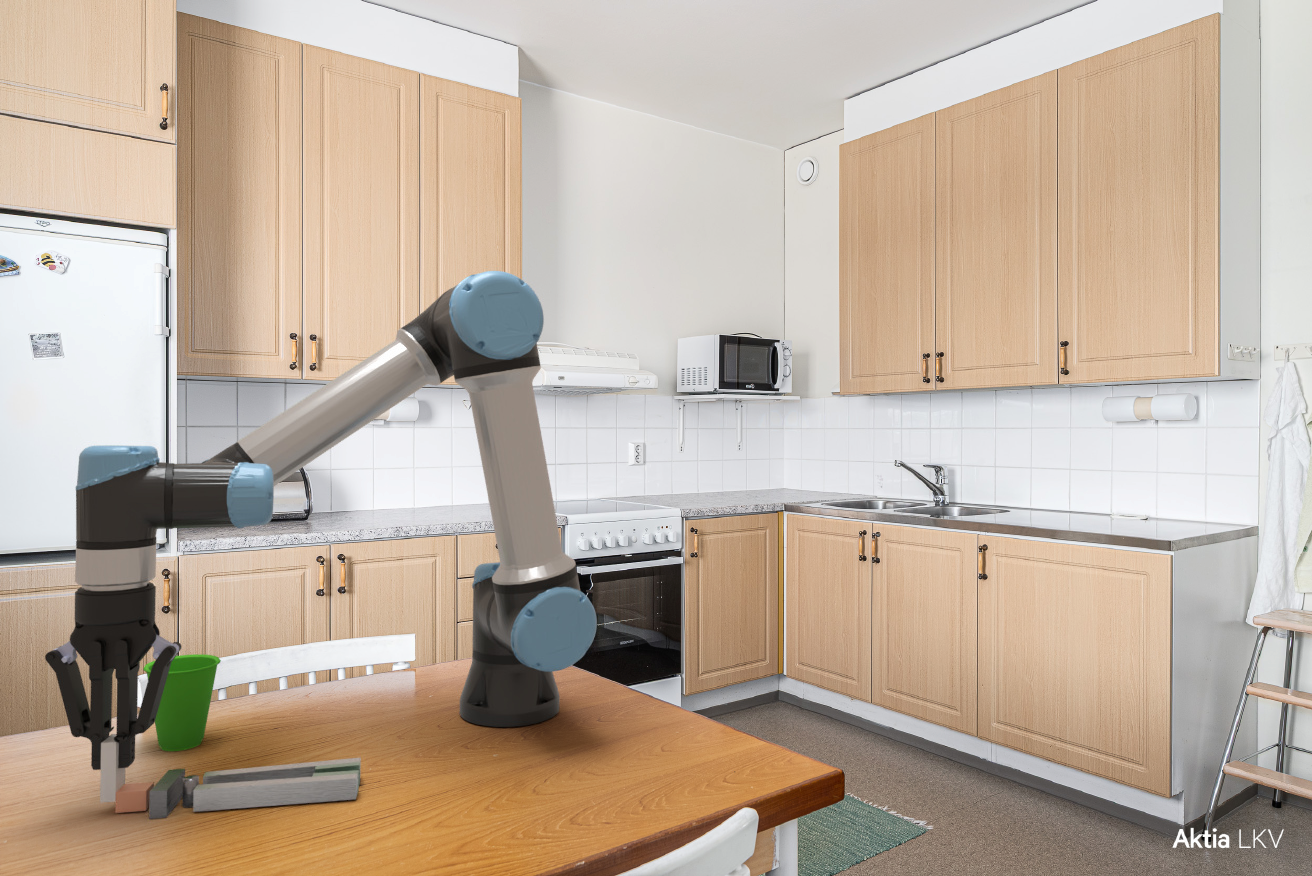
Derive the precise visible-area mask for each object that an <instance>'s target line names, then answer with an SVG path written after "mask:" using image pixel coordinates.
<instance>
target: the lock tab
mask: <svg viewBox="0 0 1312 876" xmlns="http://www.w3.org/2000/svg"><path fill="white" fill-rule="evenodd" d="M154 786H155V781H147V782H146V781H145V782H132V783H125V784H124V785H123V786H122V787H121V788H120V789H119V790H118V791H117V792H116V801H115V810H114V811H115V814H119V813H131V812H133V813H134V812H143V811H145V812H146V811H147V810H149V802H150V790H151V789H152V788H153V787H154Z"/></svg>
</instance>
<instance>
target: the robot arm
mask: <svg viewBox="0 0 1312 876" xmlns="http://www.w3.org/2000/svg"><path fill="white" fill-rule="evenodd" d="M544 320H545V319H544V310H543V305H542V304H541V301H540V298H539V296H538V295H537V294H536V292H535V290H533V288H532V287H531V286H530V285H529V284H528V283H527V282H525V281H524V280H523V279H522V278H520V277H518V276H517V275H514V274H513V273H510V272H507V271H501V270H489V271H488V270H487V271H483V272H479V273H475V274H474V273H473V274H471V275H469V276H467V277H465V278H464V279H462V280H461V281H460V282H459V283H458V284H456V285H455V286H454V287H452V288H449V289H447V290H446V291H445V292H443V293H442V294H441V295H440V296H438V298H437V299H435V301H433V303H431V304H430V305H429V306H428V307H427V308H426V309H425V310H423V311H422V313H420V314H419V315H417V316H416V317H415V318H414V319H412V320H411V321H410V322H408V323H407V324H405V325H404V326H402V327H400V328H398V330H397V331H396V336H395V340H394V341H392V342H390V343H389V344H387V345H385V346H384V347H382V348H381V349H380V350H378V351H377V352H375V353H373V354H372V355H370V356H368V357H367V358H365V359H364V360H363V361H360V362H359V363H358V364H356V365H355V366H353V367H351V368H349V370H347V371H345V372H344V373H342V374H340V375H339V376H337V377H336V378H334V379H332V380H331V381H330V382H328V383H327V384H325V385H323V386H322V387H319V388H318V389H317V390H316V391H314V392H313V393H311V394H309V395H307V396H306V397H305V398H303V399H302V400H300V401H298V402H297V403H295V404H294V405H292V406H291V407H289V408H287V409H286V410H284V411H283V412H281V413H279V414H278V415H276V416H275V417H273V418H272V419H270V420H269V421H267V422H265V423H264V424H262V425H261V426H259V427H258V428H256V429H254V430H253V431H251V432H250V433H248V434H246V435H244V437H242V438H241V439H239V440H237V441H236V442H235V443H233V444H231V445H230V446H228V447H226V448H225V449H223V450H222V451H220V452H218V453H217V454H215V455H213V456H212V457H210V458H209V459H206V460H204V461H202V462H201V463H200V462H199V463H198V462H197V463H173V462H171V463H170V462H160V458H159V454H158V449H157V448H156V447H154V446H151V445H108V444H107V445H90V446H88V447H85V448H83V450H82V451H81V452H80V453H79V456H78V466H77V479H76V485H75V491H76V492H75V534H76V535H75V538H76V539H75V540H76V541H75V547H76V548H75V565H74V566H75V568H74V569H75V570H74V582H75V583H76V584H77V585H78V586H81V587H79V588H77V590H76V591H75V592H74V629H73V631H72V632H71V634H70V636H69V641H67V642H66V643H64V644H62V645H61V646H58V647H55V648H54V649H52V650H50V651H47V653H45V655H44V660H45V661H46V662H47V664H48V665H49V666H50V668H51V669H52V670H53V671H54V672H55V676H56V679H57V684H58V688H59V692H60V695H61V698H62V704H63V707H64V711H65V715H66V717H67V722H68V725H69V731H70V734H71V736H73V737H74V738H80V737H81V738H85V739H88V740H89V741H90V743H91V760H90V761H91V768H92V770H93V771H96V770H97V771H100V778H99V779H100V781H99V782H100V784H99V785H100V786H99V788H100V789H99V791H100V792H99V798H100V799H99V802H100V803H111V802H112V803H113V802H116V792H117V791H118V790H119V789H120V788H121V787H122V786H123V785H124V784H126V769H129V767H130V766H131V765H132V764H134V761H135V758H136V736H137V735H139V734H144V733H146V732H147V731H148V730H149V729H150V728H151V727H152V726H153V725H154V724H155V719H156V715H157V712H158V708H159V705H160V701H161V697H162V694H163V690H164V687H165V683H166V680H167V676H168V673H169V669H170V666H171V662H172V661H173V659H174V658H175V657H176V656H178V654H179V652H181V650H182V644H181V643H180V642H179V641H174V642H171V641H169V640H167V639H165V638H164V637H162V636H160V635H161V634H160V633H161V631H160V629H159V627H158V626H157V624H156V623H157V622H156V601H157V600H156V597H157V596H156V590H157V589H156V588H157V587H156V586H155V585H154V583H153V582H150V581H153V580H154V579H155V578H156V572H157V571H156V569H157V566H156V565H157V532H158V530H164V529H165V530H173V529H204V528H205V529H206V528H209V529H210V528H236V529H243V528H246V527H257V526H265V525H268V524H269V523H270V522H271V521H272V519H273V513H274V493H275V490H274V489H275V488H274V487H275V486H277V485H278V484H280V483H282V481H284V480H286V479H287V478H289V477H290V476H292V475H293V474H295V473H297V472H298V471H299V470H301V469H302V468H304V467H305V466H307V465H308V464H309V463H311V462H313V461H315V460H316V459H318V457H320V456H322V455H323V454H324V453H326V452H328V451H330V450H331V449H332V448H334V447H335V446H337V445H338V444H339V443H341V442H343V441H344V440H346V439H347V438H349V437H350V436H352V435H353V434H355V433H356V432H358V431H359V430H360V429H362V428H363V427H365V426H367V425H368V424H370V423H372V421H374V420H375V419H377V418H378V417H380V416H381V415H384V414H385V413H386V412H388V411H389V410H390V409H392V408H393V407H395V406H396V405H398V404H399V403H401V402H402V401H404V400H406V399H407V398H409V397H410V396H411V395H413V394H414V393H416V392H418V391H419V390H420V389H422V388H423V387H425V386H427V385H431V386H440V385H441V384H442V383H443V382H445V381H446V380H448V379H449V378H451V377H454V378H453V379H454V382H455V383H456V384H457V385H459V386H460V387H462V388H463V389H464V390H465V391H466V392H467V393H468V396H469V401H470V405H471V411H472V417H473V418H472V419H473V422H474V428H475V433H476V438H477V439H476V440H477V443H478V450H479V455H480V460H481V466H482V470H483V477H484V481H485V488H486V492H487V498H488V503H489V509H490V513H491V519H492V525H493V526H492V527H493V531H494V534H495V535H494V536H495V541H496V547H497V552H498V558H499V562H486V563H481V564H480V563H479V565H477V566H476V567H475V569H474V572H473V582H472V585H471V586H472V587H471V588H472V590H473V592H472V657H471V658H472V659H471V660H472V661H471V665H470V667H469V671H468V673H467V676H466V680H465V683H464V686H463V688H462V692H461V694H460V697H459V716H460V717H461V718H462V719H464V721H467V722H469V723H472V724H475V725H478V726H480V725H481V726H484V727H494V728H512V727H514V728H515V727H522V726H529V725H533V724H539V723H542V722H545V721H548V720H551V718H554V717H555V716H556V715H557V714H558V713H559V712H560V698H561V697H560V692H559V690H558V685H557V682H556V679H555V676H554V673H553V672H558V671H562V670H565V669H567V668H569V667H571V666H573V665H574V664H576V663H577V662H578V661H580V660H581V659H582V658H583V657H584V656H585V655H586V653H587V651H588V650H589V648H590V647H591V646H592V643H593V642H594V638H595V636H596V632H597V629H598V628H597V626H598V620H597V619H598V618H597V612H596V610H595V607H594V605H593V604H592V602H591V601H590V599H589V596H587V595H586V594H585V593H584V592H583V591H581V588H580V587H581V586H580V581H579V575H578V570H577V564H576V561H575V560H574V558H572V557H570V556H569V555H568V554H566V553H565V552H564V551H563V548H562V544H561V538H560V531H559V527H558V520H557V515H556V510H555V503H554V499H553V492H552V487H551V482H550V481H551V480H550V475H549V470H548V464H547V459H546V453H545V448H544V442H543V436H542V431H541V425H540V419H539V414H538V408H537V403H536V396H535V390H534V386H533V382H534V379H535V377H536V376H537V374H538V373H539V371H540V370H541V368H542V365H541V362H540V361H541V360H540V355H539V349H538V342H539V340H540V338H541V335H542V332H543V330H544V329H543V328H544V323H545V322H544ZM152 648H153V652H152V657H153V659H154V661H155V660H156V661H155V662H154V664H153V666H152V669H151V672H150V676H149V679H148V678H147V683H146V685H145V686H146V687H145V691H144V694H143V697H142V700H141V704H140V709H139V711H138V694H139V693H138V691H139V690H138V688H139V687H138V685H139V684H138V683H139V682H138V681H139V678H138V677H139V671H140V668H141V667H140V666H141V665H140V664H141V663H140V662H141V661H142V660H143V659H144V657H145V656H146V655H147V653H148V652H149V651H150V649H152ZM78 655H79V656H80V657H81V658H82V660H83V661H84V662H85V663H86V664H87V666H88V679H89V680H90V703H89V701H88V698H87V693H86V690H85V686H84V681H83V678H82V675H81V670H80V667H79V664H78V661H77V658H78ZM114 672H115V673H114ZM113 674H115V679H116V683H117V684H116V733H111V732H112V731H114V728H115V726H112V722H113V721H112V718H113V717H112V716H113V714H112V711H113V708H112V706H113ZM89 704H90V706H89ZM110 733H111V734H110Z"/></svg>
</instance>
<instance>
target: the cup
mask: <svg viewBox="0 0 1312 876" xmlns="http://www.w3.org/2000/svg"><path fill="white" fill-rule="evenodd" d="M155 661H156V659H154V660H153V661H150V662H148V663H146V664H145V665H144V666H143V671H144V672H145V673H146V676H147V680H148V679H149V676H150V672H151V669H152V666H153V664H154V662H155ZM220 663H221V659H220V657H218V656H216V655H213V654H204V653H203V654H199V653H197V654H182V655H176V657H175V658H174V659H173V661H172V662H171V666H170V669H169V673H168V676H167V680H166V683H165V687H164V690H163V694H162V697H161V701H160V705H159V708H158V712H157V715H156V719H155V722H154V724H155V725H154V726H155V730H156V737H157V743H158V746H159V749H160V750H162V751H165V752H180V751H185V750H187V751H188V750H190V749H193V748H196V747H198V746H200V745H201V744H202V741H203V740H204V738H205V733H206V728H207V723H208V716H209V711H210V707H211V701H212V695H213V691H214V685H215V681H216V680H215V679H216V674H217V670H218V669H217V668H218V665H219V664H220Z"/></svg>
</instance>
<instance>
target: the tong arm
mask: <svg viewBox="0 0 1312 876" xmlns="http://www.w3.org/2000/svg"><path fill="white" fill-rule="evenodd" d="M361 761H362V759H361V757H352V758H342V759H341V758H340V759H339V758H338V759H331V760H330V759H329V760H319V761H309V762H299V763H289V764H288V763H287V764H279V765H278V764H276V765H267V766H254V767H247V768H246V767H244V768H235V769H224V770H213V771H212V770H211V771H206V772H204V775H203V776H202V785H203V784H217V783H231V782H245V781H259V780H273V779H287V778H301V777H312V776H313V773H325V772H339V771H354V770H359V786H360V784H361V767H362V765H361Z"/></svg>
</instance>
